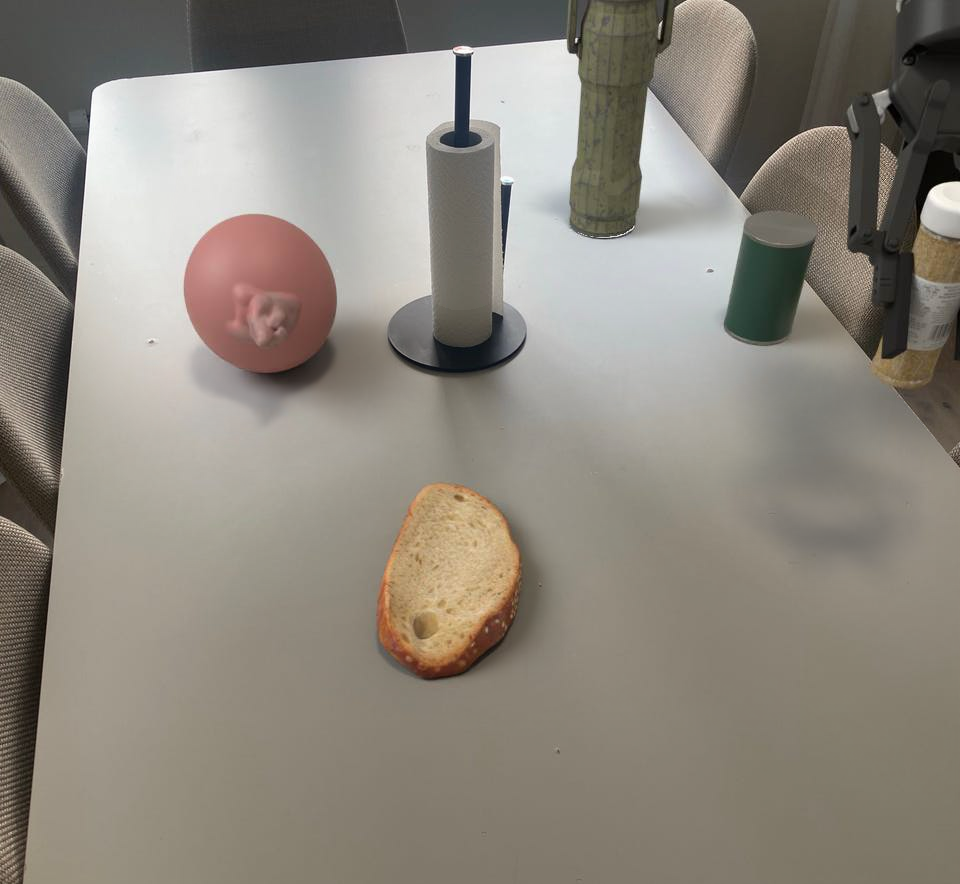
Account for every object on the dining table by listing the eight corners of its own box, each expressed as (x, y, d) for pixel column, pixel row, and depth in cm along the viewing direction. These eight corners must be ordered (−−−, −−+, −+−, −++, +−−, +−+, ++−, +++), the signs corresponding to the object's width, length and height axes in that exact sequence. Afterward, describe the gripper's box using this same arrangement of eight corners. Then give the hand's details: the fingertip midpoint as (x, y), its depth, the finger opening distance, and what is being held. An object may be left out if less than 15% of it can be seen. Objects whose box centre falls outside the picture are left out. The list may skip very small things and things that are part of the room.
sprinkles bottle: (910, 353, 73) (977, 175, 63) (943, 386, 70) (1019, 204, 60) (857, 362, 72) (915, 183, 62) (888, 396, 69) (955, 214, 59)
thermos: (656, 235, 121) (701, -106, 95) (566, 243, 120) (586, -100, 93) (637, 204, 127) (675, -126, 100) (551, 211, 126) (567, -120, 99)
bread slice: (451, 484, 89) (450, 452, 86) (590, 584, 80) (594, 552, 78) (295, 576, 81) (288, 544, 78) (430, 698, 73) (428, 667, 70)
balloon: (196, 435, 94) (155, 292, 83) (206, 328, 107) (172, 192, 96) (350, 421, 96) (330, 279, 84) (342, 317, 109) (324, 182, 97)
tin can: (792, 314, 108) (818, 214, 100) (790, 349, 104) (817, 248, 95) (726, 306, 110) (746, 207, 101) (721, 340, 105) (741, 240, 96)
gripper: (1056, 36, 67) (1031, 370, 69) (808, 35, 68) (789, 364, 70) (1122, -31, 60) (1091, 345, 61) (842, -31, 61) (820, 339, 62)
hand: (931, 354), depth 66 cm, fingers closed on sprinkles bottle, 4 cm apart
